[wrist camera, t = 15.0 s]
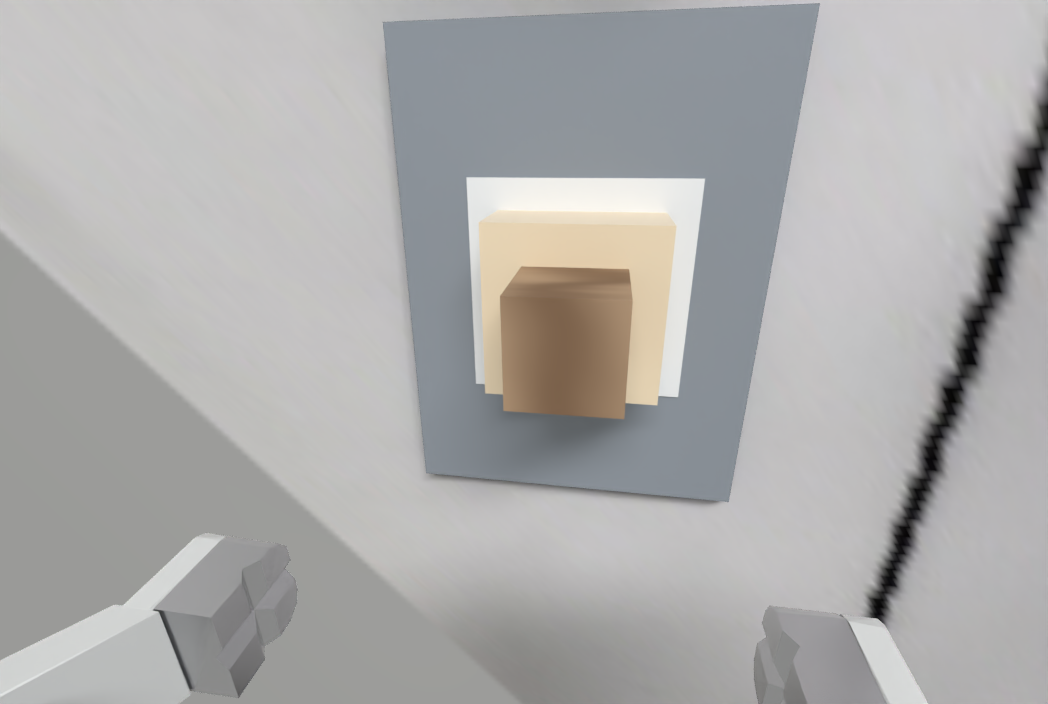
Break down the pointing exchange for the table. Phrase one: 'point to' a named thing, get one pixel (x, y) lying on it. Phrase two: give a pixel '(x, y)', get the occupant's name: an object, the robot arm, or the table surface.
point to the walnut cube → (566, 341)
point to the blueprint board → (598, 131)
